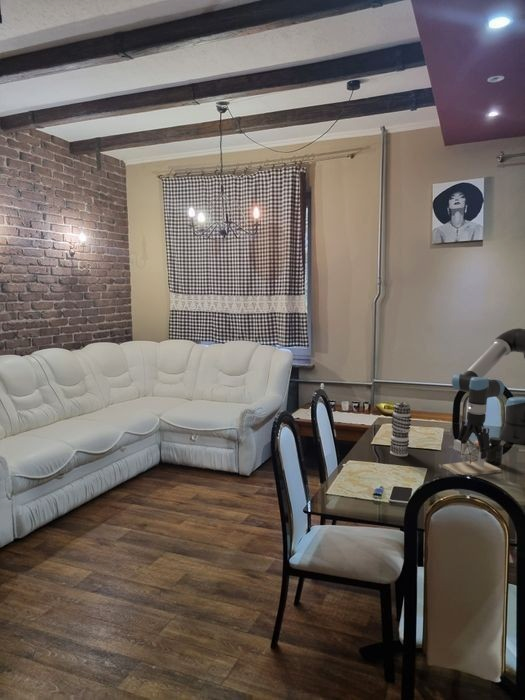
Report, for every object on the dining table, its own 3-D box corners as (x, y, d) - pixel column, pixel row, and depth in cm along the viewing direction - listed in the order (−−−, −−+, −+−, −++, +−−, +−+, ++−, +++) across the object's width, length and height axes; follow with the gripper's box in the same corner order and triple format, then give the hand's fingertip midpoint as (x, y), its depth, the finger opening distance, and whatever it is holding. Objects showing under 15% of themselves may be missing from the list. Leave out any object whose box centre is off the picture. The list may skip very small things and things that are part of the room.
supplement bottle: (500, 462, 230) (502, 437, 228) (502, 467, 224) (504, 441, 222) (484, 460, 232) (486, 435, 231) (485, 464, 226) (488, 439, 224)
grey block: (461, 448, 248) (462, 439, 247) (468, 451, 244) (469, 442, 243) (453, 449, 246) (454, 439, 246) (460, 452, 242) (461, 443, 241)
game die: (475, 471, 218) (487, 458, 211) (457, 463, 219) (468, 450, 212) (476, 456, 225) (488, 443, 218) (459, 448, 226) (469, 435, 219)
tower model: (394, 457, 233) (398, 405, 229) (385, 450, 242) (389, 400, 238) (412, 456, 235) (416, 405, 231) (403, 449, 244) (406, 400, 240)
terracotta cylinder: (479, 452, 242) (480, 439, 241) (487, 456, 237) (488, 442, 236) (471, 453, 240) (472, 440, 239) (479, 457, 236) (480, 443, 235)
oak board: (480, 462, 229) (480, 459, 229) (500, 471, 218) (501, 469, 218) (442, 467, 221) (442, 464, 221) (461, 477, 210) (461, 474, 210)
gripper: (451, 406, 225) (448, 453, 228) (489, 419, 205) (484, 471, 208) (464, 405, 228) (460, 452, 231) (503, 418, 207) (498, 469, 210)
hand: (472, 461), depth 219 cm, fingers closed on game die, 9 cm apart
